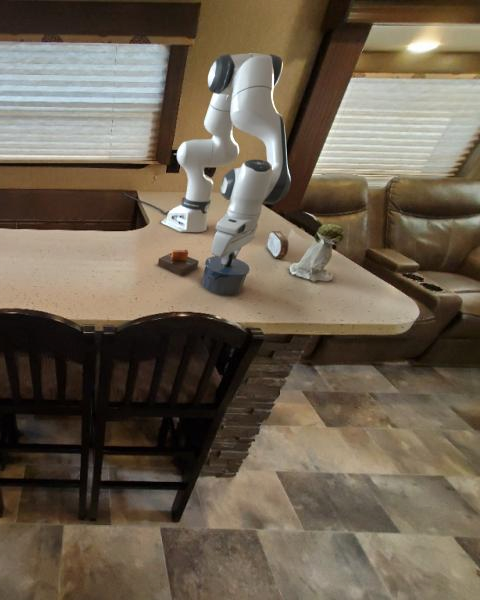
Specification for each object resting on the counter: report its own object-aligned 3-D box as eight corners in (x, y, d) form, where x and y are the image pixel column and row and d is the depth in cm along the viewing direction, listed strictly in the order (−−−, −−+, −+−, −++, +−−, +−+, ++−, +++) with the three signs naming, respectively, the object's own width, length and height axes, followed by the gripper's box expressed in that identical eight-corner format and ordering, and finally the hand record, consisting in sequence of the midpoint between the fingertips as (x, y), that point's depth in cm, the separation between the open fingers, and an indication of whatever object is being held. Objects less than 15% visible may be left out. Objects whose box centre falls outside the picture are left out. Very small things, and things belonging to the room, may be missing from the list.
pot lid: (196, 266, 98) (200, 251, 95) (218, 255, 105) (222, 240, 102) (235, 282, 90) (241, 266, 86) (256, 269, 97) (262, 253, 93)
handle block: (157, 265, 114) (158, 258, 112) (173, 258, 119) (174, 250, 117) (181, 276, 107) (183, 268, 105) (197, 267, 112) (199, 260, 110)
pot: (189, 286, 101) (194, 267, 97) (217, 270, 110) (223, 252, 106) (224, 303, 93) (231, 282, 89) (251, 284, 102) (258, 264, 98)
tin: (283, 262, 115) (292, 242, 110) (275, 261, 116) (283, 241, 111) (271, 246, 127) (278, 227, 123) (263, 245, 128) (270, 227, 123)
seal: (171, 260, 111) (173, 251, 109) (171, 258, 112) (172, 249, 110) (186, 260, 110) (188, 251, 108) (185, 258, 112) (187, 249, 110)
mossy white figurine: (281, 266, 112) (301, 219, 102) (313, 264, 113) (335, 218, 102) (303, 282, 102) (328, 232, 92) (338, 280, 103) (366, 230, 93)
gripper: (247, 210, 96) (235, 249, 103) (213, 225, 85) (202, 267, 93) (267, 215, 92) (253, 255, 99) (234, 231, 81) (221, 274, 89)
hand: (228, 261), depth 96 cm, fingers open, 3 cm apart
